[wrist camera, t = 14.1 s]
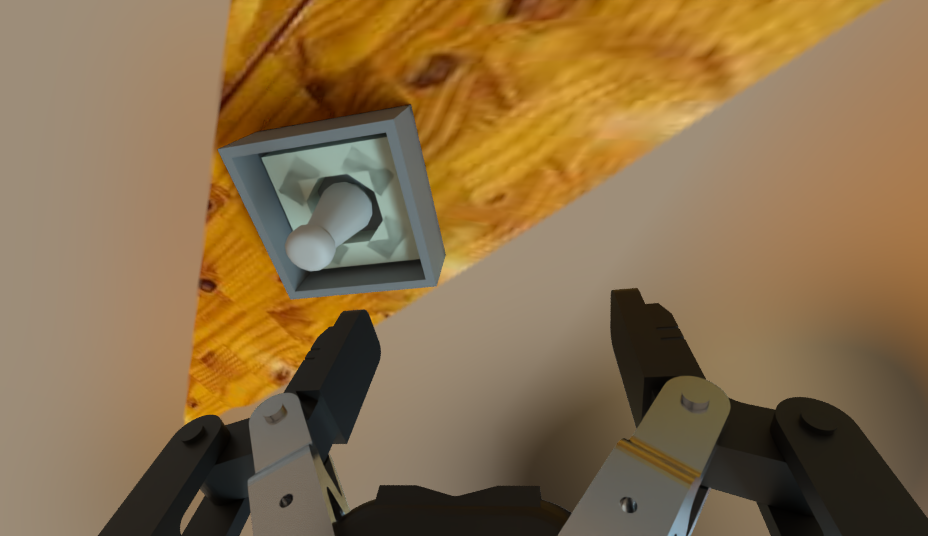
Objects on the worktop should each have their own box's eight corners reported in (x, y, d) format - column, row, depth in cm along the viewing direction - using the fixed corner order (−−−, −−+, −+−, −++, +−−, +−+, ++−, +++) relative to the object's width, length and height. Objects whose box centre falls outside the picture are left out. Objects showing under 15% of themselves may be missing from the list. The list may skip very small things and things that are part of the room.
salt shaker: (366, 230, 49) (324, 292, 38) (322, 207, 48) (265, 264, 37) (385, 191, 46) (344, 246, 35) (338, 166, 45) (282, 214, 34)
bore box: (256, 131, 45) (217, 149, 39) (410, 104, 42) (393, 119, 36) (315, 268, 54) (290, 299, 48) (445, 254, 51) (436, 286, 45)
